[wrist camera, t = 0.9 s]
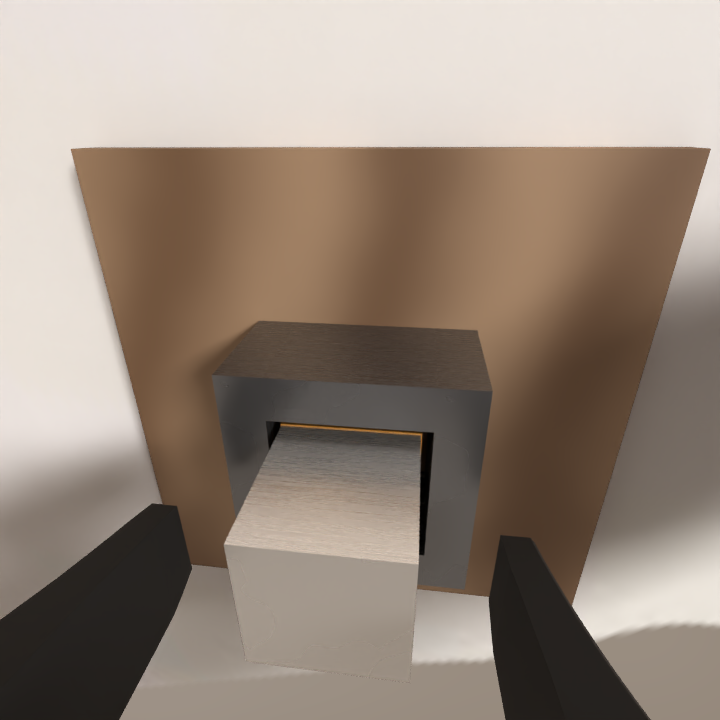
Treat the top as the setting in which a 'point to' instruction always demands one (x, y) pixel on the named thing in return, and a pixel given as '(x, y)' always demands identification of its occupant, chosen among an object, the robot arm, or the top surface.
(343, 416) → the sleeve
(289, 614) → the post
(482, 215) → the base plate
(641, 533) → the top surface
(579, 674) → the robot arm
